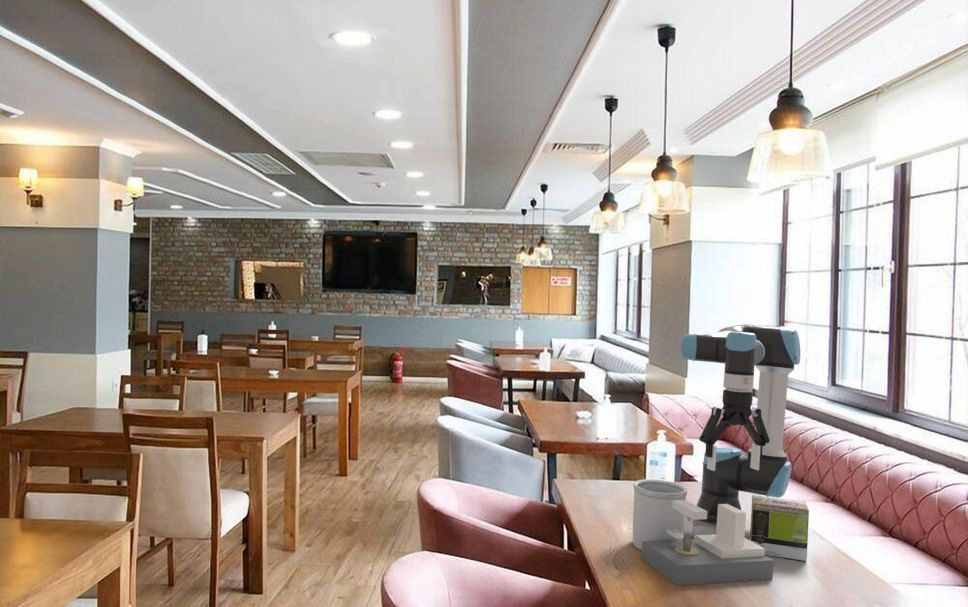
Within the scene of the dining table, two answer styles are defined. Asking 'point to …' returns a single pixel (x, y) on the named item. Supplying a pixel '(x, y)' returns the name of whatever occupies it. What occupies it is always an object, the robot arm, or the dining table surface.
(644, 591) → the dining table surface
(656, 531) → the utensil holder
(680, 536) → the t key
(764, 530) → the tea box
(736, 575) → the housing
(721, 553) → the cover
